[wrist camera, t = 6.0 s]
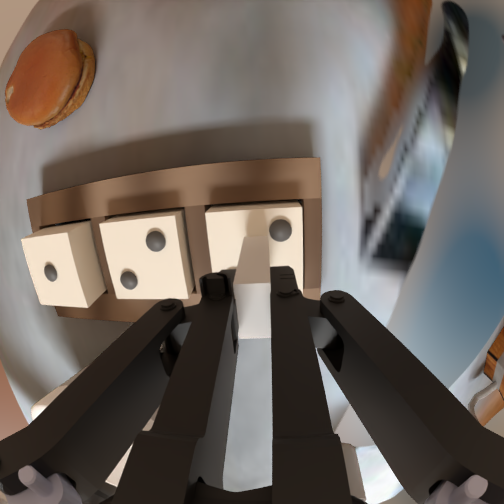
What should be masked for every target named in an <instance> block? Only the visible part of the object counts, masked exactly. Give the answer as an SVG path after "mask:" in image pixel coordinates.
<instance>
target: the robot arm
mask: <svg viewBox="0 0 504 504" xmlns="http://www.w3.org/2000/svg"><path fill="white" fill-rule="evenodd" d="M199 284H200V290H201V296H202V297H201V300H200V302H199V304H196V305H192V306H187V307H184V305H183V302H182V301H181V300H179V299H176V298H168V299H164V300H162V301H159V302H158V303H156V304H155V305H154V306H152V307H151V308H150V309H149V310H148V311H147V312H146V313H145V314H144V315H143V316H141V317H140V318H139V319H138V320H137V321H136V322H135V323H134V324H133V325H132V326H131V327H130V328H128V329H127V330H126V331H125V332H124V333H123V334H122V335H121V336H120V337H119V338H118V339H117V340H116V341H114V342H113V343H112V344H111V345H110V346H109V347H108V348H107V349H106V350H105V351H104V352H103V353H102V354H101V355H100V356H99V357H97V358H96V359H95V360H94V361H93V362H92V363H91V364H90V365H89V366H88V367H87V368H86V369H85V370H84V371H83V372H82V373H81V374H80V375H79V376H78V377H77V378H76V379H75V380H74V381H72V382H71V383H70V384H69V385H68V386H67V387H66V388H65V389H64V390H63V391H62V392H61V393H60V394H59V395H58V396H57V397H56V398H55V399H54V400H53V401H52V402H51V403H50V404H49V405H48V406H47V407H46V408H45V409H44V410H43V411H42V412H41V413H40V414H39V415H38V416H37V417H36V418H35V419H34V420H33V421H32V422H31V423H30V424H29V425H28V426H27V427H26V428H24V429H22V430H20V431H18V432H16V433H15V434H12V435H11V436H9V437H7V438H5V439H3V440H1V441H0V504H367V503H366V502H364V501H363V500H361V499H359V498H357V497H355V496H353V495H351V493H350V487H349V482H348V476H347V470H346V465H345V460H344V454H343V449H342V444H341V441H340V437H339V436H338V434H334V432H333V430H332V425H331V420H330V415H329V410H328V405H327V400H326V395H325V390H324V386H323V381H322V376H321V371H320V367H319V362H318V358H317V353H316V349H315V348H317V351H318V354H319V355H320V357H321V359H322V360H323V362H324V363H325V365H326V367H327V368H328V370H329V371H330V373H331V374H332V376H333V378H334V379H335V381H336V382H337V384H338V385H339V387H340V389H341V390H342V392H343V393H344V395H345V397H346V398H347V400H348V401H349V403H350V404H351V406H352V407H353V409H354V410H355V412H356V414H357V415H358V417H359V418H360V420H361V422H362V423H363V425H364V427H365V428H366V430H367V431H368V433H369V434H370V436H371V438H372V439H373V441H374V442H375V444H376V446H377V447H378V449H379V450H380V452H381V453H382V455H383V457H384V458H385V460H386V461H387V463H388V465H389V466H390V468H391V469H392V471H393V473H394V474H395V476H396V477H397V479H398V480H399V482H400V484H401V485H402V486H403V488H404V489H405V490H406V492H407V493H408V494H409V495H410V496H411V497H412V498H413V499H414V500H415V501H416V502H417V503H418V504H504V438H503V437H501V436H499V435H498V434H496V433H494V432H492V431H490V430H488V429H486V428H484V427H483V426H482V425H481V424H480V423H479V422H478V421H477V420H476V418H475V417H474V416H473V415H472V414H471V413H470V412H469V411H468V410H467V409H466V408H465V407H464V406H463V405H462V404H461V402H460V401H459V400H458V399H457V398H456V397H455V396H454V395H453V394H452V393H451V392H450V391H449V390H448V389H447V388H446V387H445V386H444V385H443V384H442V383H441V382H440V381H439V380H438V379H437V378H436V377H435V376H434V375H433V374H432V373H431V372H430V371H429V370H428V369H427V368H426V367H425V366H424V365H423V364H422V363H421V362H420V361H419V360H418V359H417V358H416V357H415V356H414V355H413V354H412V353H411V352H410V351H409V350H408V349H407V348H406V347H405V346H404V345H403V344H402V343H401V342H400V341H399V340H398V339H397V338H396V337H395V336H394V335H393V334H392V333H391V332H390V331H389V330H388V329H387V328H386V327H384V326H383V325H382V324H381V323H380V322H379V321H378V320H377V319H376V318H375V317H374V316H373V315H372V314H371V313H370V312H369V311H368V310H366V309H365V308H364V307H363V306H362V305H361V304H360V303H359V302H358V301H357V300H356V299H355V298H354V297H352V296H351V295H350V294H348V293H346V292H343V291H340V290H334V291H328V292H325V293H324V294H322V295H321V298H320V300H313V299H308V298H305V297H304V296H303V294H302V292H301V290H300V289H298V285H297V281H296V277H295V273H294V269H292V268H291V267H290V266H273V267H270V262H269V243H268V236H252V237H244V239H243V243H242V247H241V252H240V256H239V260H238V265H237V269H226V270H221V271H220V272H213V273H208V274H205V275H203V276H201V277H200V278H199ZM238 333H239V339H246V338H271V353H272V413H273V440H272V486H267V487H263V488H258V489H253V490H248V491H242V492H230V491H226V490H223V469H224V461H225V452H226V444H227V436H228V428H229V420H230V412H231V404H232V395H233V387H234V379H235V371H236V363H237V355H238V347H239V344H238ZM161 344H163V348H162V349H161V350H160V346H161ZM158 407H159V409H158V412H157V415H156V417H155V420H154V423H153V426H152V428H151V429H150V430H149V431H144V430H143V428H144V427H145V425H146V424H147V423H148V421H149V420H150V418H151V417H152V416H153V414H154V413H155V411H156V410H157V408H158ZM132 444H133V445H132ZM131 445H132V448H131V450H130V453H129V456H128V458H127V461H126V464H125V467H124V469H123V472H122V475H121V478H120V480H119V483H118V486H117V487H116V486H114V485H111V484H109V483H107V482H105V481H106V480H107V478H108V477H109V476H110V474H111V473H112V471H113V470H114V469H115V467H116V466H117V464H118V463H119V462H120V460H121V459H122V458H123V456H124V455H125V453H126V452H127V451H128V449H129V448H130V446H131Z"/></svg>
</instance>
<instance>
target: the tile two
mask: <svg viewBox="0 0 504 504" xmlns="http://www.w3.org/2000/svg"><path fill="white" fill-rule="evenodd" d="M99 226H100V231H101V236H102V241H103V245H104V250H105V254H106V258H107V263H108V267H109V271H110V275H111V278H112V282H113V286H114V289H115V293H116V296H117V299H168V298H176V299H189V297H190V295H191V293H192V291H193V289H194V287H195V285H196V284H195V278H194V272H193V266H192V259H191V253H190V246H189V239H188V231H187V224H186V216H185V208H184V207H176V208H166V209H157V210H148V211H140V212H131V213H123V214H118V215H116V216H114V217H112V218H110V219H108V220H106V221H104V222H102V223H100V224H99Z"/></svg>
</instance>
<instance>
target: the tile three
mask: <svg viewBox="0 0 504 504" xmlns="http://www.w3.org/2000/svg"><path fill="white" fill-rule="evenodd" d="M205 216H206V225H207V234H208V242H209V250H210V258H211V266H212V273H213V272H220V271H221V270H226V269H237V265H238V260H239V256H240V252H241V247H242V243H243V239H244V237H252V236H268V243H269V262H270V267H273V266H290V267H291V268H292V269H294V273H295V277H296V281H297V285H298V289H300V290H301V292H302V294H303V221H302V206H301V205H300V204H299V202H298V201H297V200H296V199H286V200H266V201H249V202H235V203H221V204H213V205H212V206H211V207H210V208H209V209H208V210H207V211H206V213H205Z"/></svg>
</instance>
